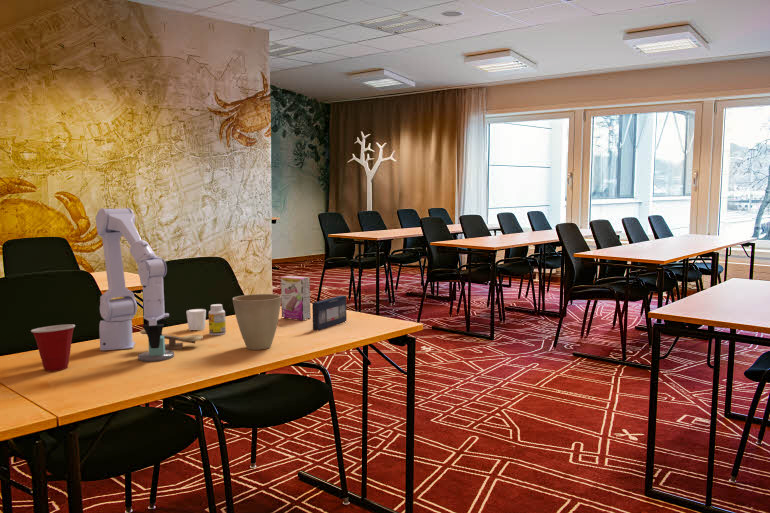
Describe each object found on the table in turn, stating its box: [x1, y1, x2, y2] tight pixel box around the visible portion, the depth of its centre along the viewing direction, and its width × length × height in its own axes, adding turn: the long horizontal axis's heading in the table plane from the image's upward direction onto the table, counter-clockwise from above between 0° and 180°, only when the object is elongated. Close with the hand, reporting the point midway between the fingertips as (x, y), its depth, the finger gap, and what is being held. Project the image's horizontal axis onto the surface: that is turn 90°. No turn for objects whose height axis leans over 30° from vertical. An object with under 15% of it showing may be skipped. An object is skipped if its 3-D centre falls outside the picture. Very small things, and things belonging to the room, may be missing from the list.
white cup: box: [186, 308, 207, 331], centre depth 222 cm, size 7×7×7 cm
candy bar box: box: [280, 275, 311, 321], centre depth 239 cm, size 11×5×16 cm, turn 58°
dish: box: [137, 350, 175, 363], centre depth 181 cm, size 10×10×1 cm
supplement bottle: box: [208, 303, 227, 336], centre depth 213 cm, size 6×6×10 cm
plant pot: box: [232, 293, 281, 351], centre depth 192 cm, size 15×15×16 cm
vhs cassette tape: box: [311, 295, 348, 331], centre depth 225 cm, size 18×3×10 cm, turn 148°
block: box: [147, 336, 166, 356], centre depth 181 cm, size 4×4×5 cm
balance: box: [139, 328, 204, 351], centre depth 193 cm, size 18×6×6 cm, turn 106°
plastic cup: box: [30, 323, 76, 372], centre depth 170 cm, size 11×11×12 cm
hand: (155, 345), depth 181 cm, fingers open, 6 cm apart
